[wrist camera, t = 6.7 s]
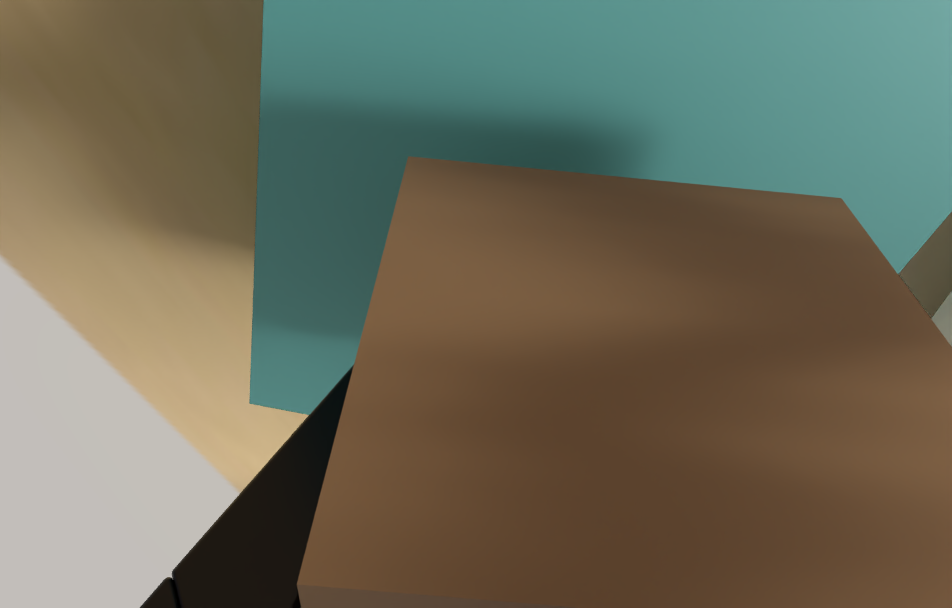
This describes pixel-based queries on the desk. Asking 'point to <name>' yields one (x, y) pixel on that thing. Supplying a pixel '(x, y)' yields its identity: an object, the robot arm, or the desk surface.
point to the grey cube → (945, 318)
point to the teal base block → (572, 127)
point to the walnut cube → (634, 405)
